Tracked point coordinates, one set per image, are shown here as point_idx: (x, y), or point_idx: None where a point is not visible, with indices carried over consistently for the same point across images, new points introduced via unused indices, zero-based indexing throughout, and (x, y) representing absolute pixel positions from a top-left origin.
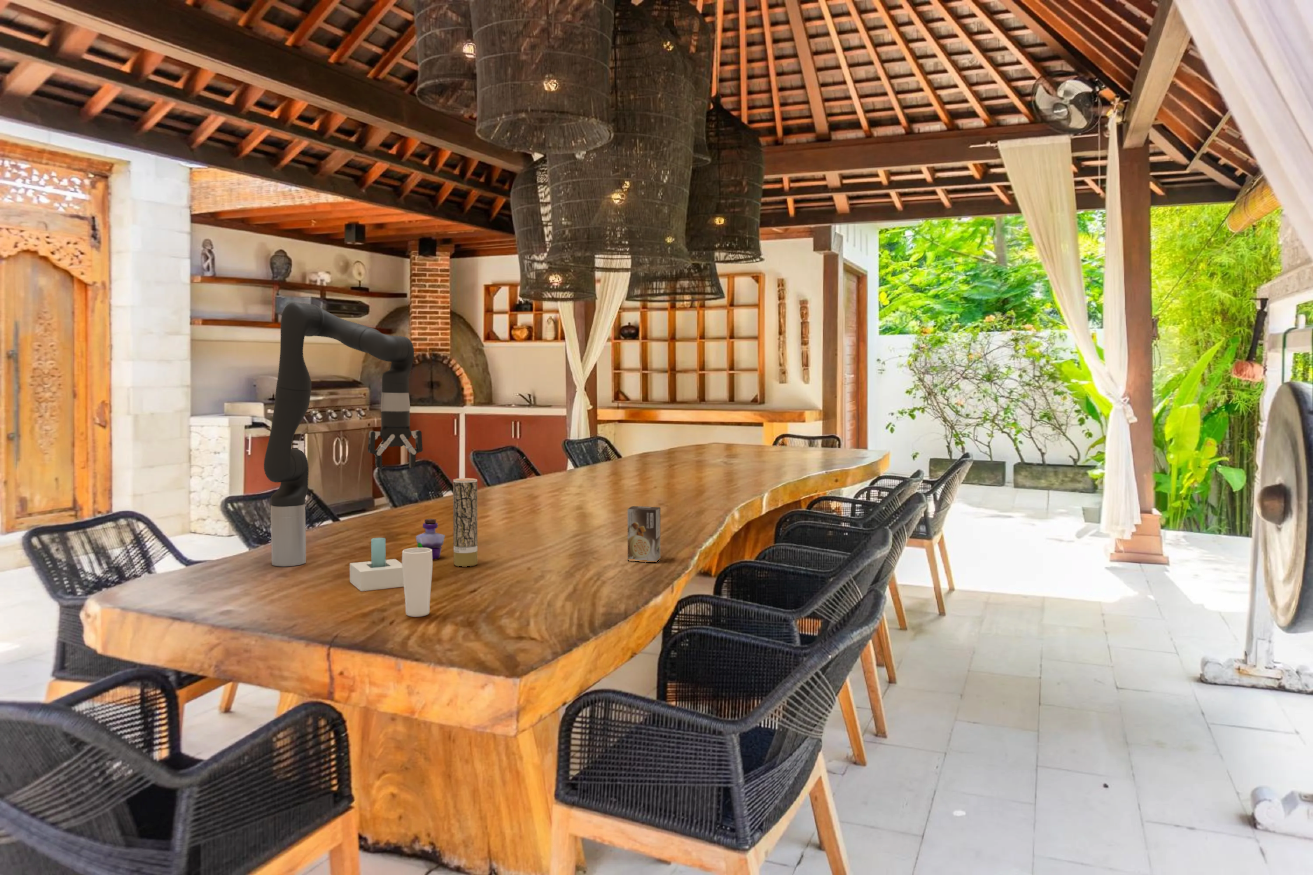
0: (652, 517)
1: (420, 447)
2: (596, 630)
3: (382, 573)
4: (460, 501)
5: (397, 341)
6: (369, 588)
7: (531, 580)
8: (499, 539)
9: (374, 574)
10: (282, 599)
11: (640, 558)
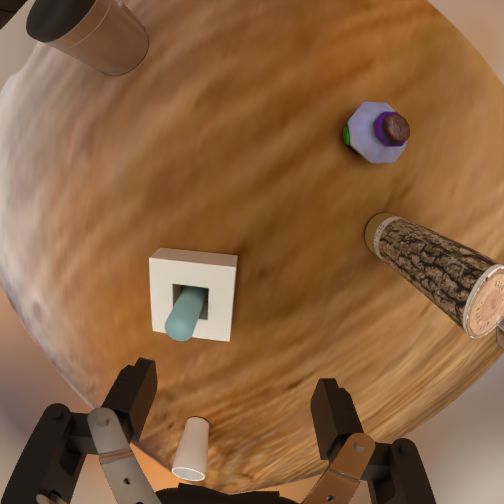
0: None
1: (381, 486)
2: (296, 479)
3: None
4: (433, 300)
5: None
6: None
7: (380, 368)
8: (487, 88)
9: None
10: (74, 295)
11: (498, 336)
